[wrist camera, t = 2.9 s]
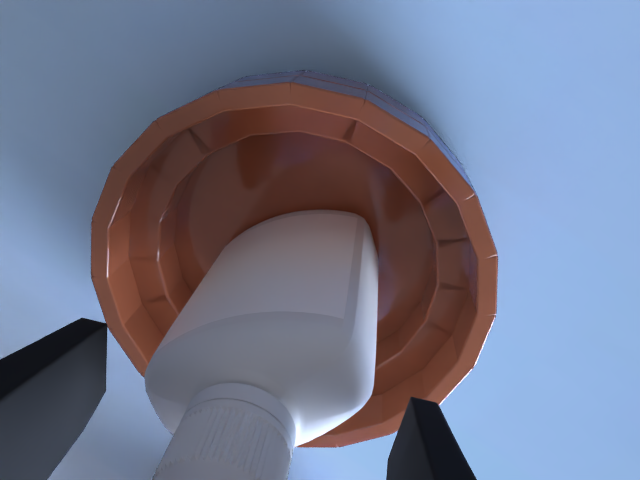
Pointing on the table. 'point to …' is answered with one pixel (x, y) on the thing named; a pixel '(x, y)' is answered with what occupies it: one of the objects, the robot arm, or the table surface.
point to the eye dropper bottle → (269, 348)
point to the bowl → (298, 195)
